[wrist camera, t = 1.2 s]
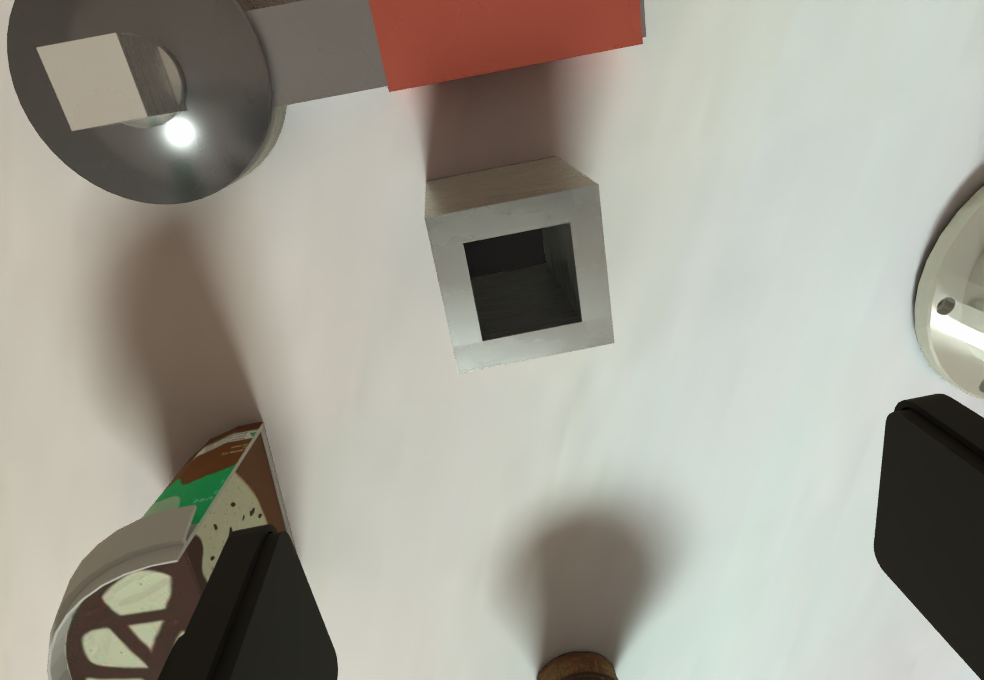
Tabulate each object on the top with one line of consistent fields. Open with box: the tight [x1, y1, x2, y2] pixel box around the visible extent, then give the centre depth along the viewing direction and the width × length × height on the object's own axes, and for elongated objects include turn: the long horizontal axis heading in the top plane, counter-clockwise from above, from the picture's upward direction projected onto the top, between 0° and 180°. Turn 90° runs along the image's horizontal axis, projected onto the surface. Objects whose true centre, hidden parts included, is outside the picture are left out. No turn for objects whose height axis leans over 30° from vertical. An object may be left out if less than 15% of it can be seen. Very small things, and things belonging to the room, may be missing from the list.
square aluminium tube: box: [425, 157, 614, 373], centre depth 23 cm, size 5×5×7 cm
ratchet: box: [7, 0, 646, 204], centre depth 20 cm, size 21×8×6 cm, turn 100°
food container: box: [47, 422, 296, 680], centre depth 26 cm, size 12×6×10 cm, turn 4°
